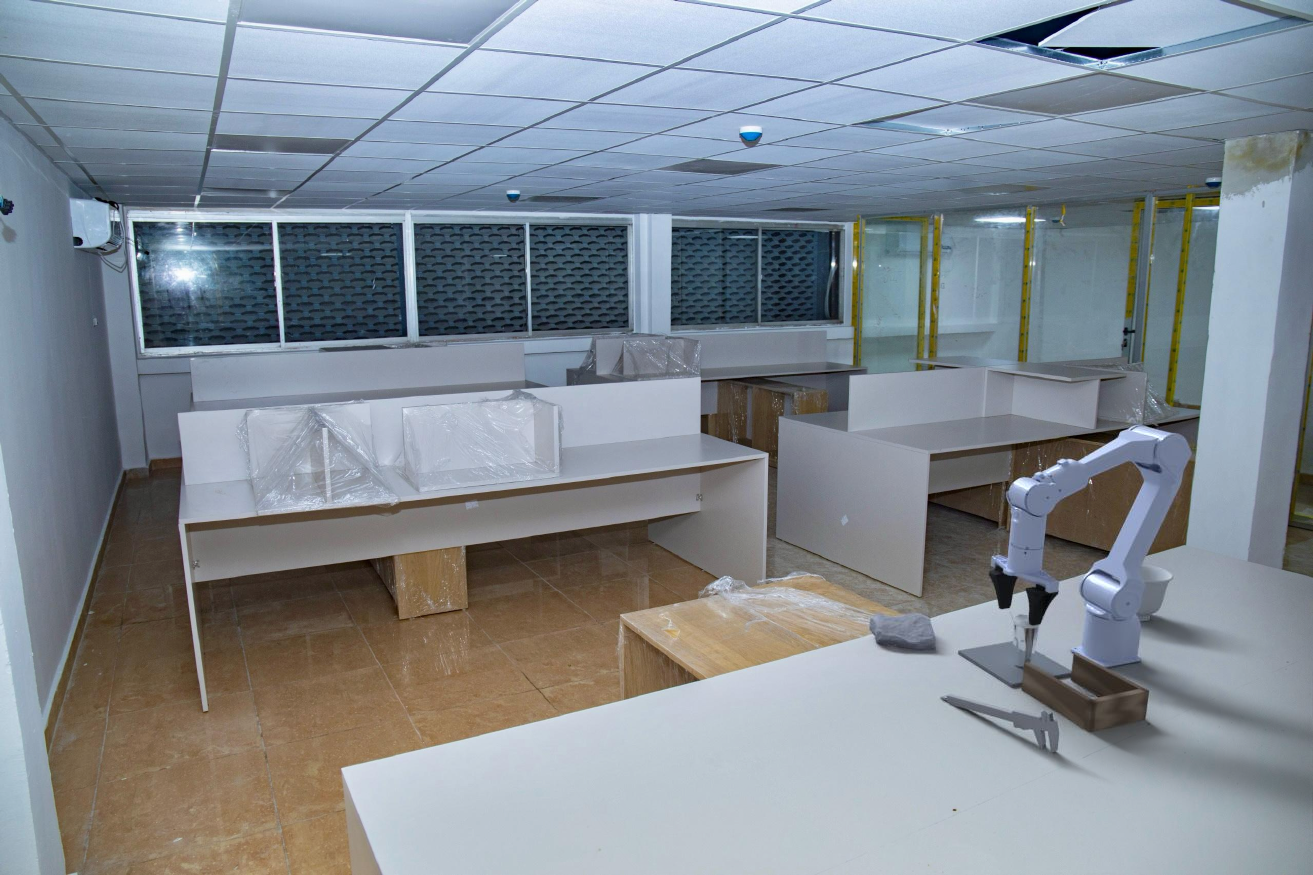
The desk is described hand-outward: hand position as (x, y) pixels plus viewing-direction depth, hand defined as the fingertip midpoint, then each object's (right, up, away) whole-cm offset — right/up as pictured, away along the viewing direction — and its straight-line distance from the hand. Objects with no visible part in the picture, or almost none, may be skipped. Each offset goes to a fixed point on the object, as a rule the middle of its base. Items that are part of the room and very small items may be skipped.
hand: (1019, 616), depth 156 cm
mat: (0, -9, +2) cm, 9 cm away
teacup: (+34, -5, +25) cm, 43 cm away
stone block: (-18, -8, +12) cm, 23 cm away
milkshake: (0, -9, 0) cm, 9 cm away
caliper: (-12, -14, -19) cm, 26 cm away
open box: (+5, -12, -12) cm, 18 cm away
